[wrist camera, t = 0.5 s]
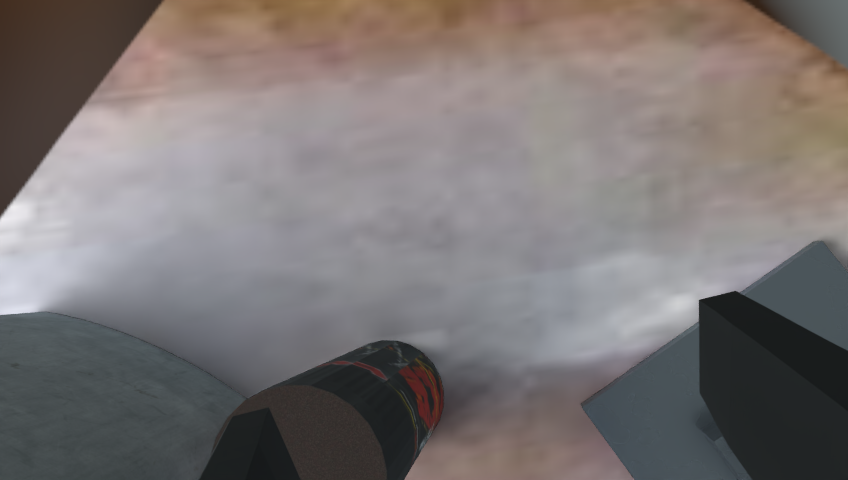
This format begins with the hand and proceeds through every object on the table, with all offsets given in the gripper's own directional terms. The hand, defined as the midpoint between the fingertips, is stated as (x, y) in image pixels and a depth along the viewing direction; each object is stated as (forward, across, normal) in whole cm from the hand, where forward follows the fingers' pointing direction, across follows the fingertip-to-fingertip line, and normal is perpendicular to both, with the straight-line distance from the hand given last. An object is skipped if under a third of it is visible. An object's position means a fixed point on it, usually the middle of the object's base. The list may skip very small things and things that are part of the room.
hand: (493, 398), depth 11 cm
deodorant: (+20, +4, +17) cm, 26 cm away
